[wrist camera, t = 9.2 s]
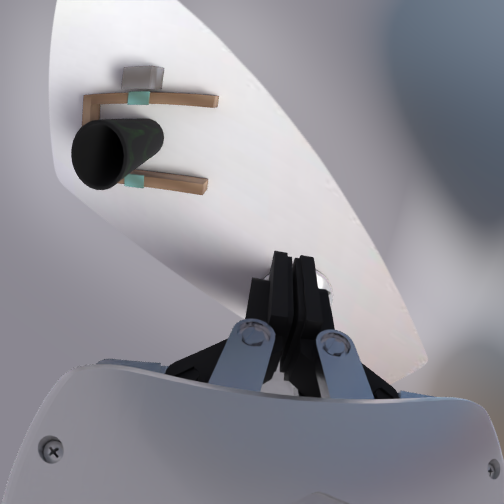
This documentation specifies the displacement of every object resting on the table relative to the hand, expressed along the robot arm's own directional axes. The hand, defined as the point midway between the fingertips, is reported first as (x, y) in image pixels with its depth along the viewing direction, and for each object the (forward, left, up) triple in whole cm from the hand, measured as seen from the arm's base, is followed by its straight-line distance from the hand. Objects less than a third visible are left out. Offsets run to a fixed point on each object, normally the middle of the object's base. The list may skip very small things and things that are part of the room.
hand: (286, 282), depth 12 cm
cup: (0, +19, -27) cm, 33 cm away
